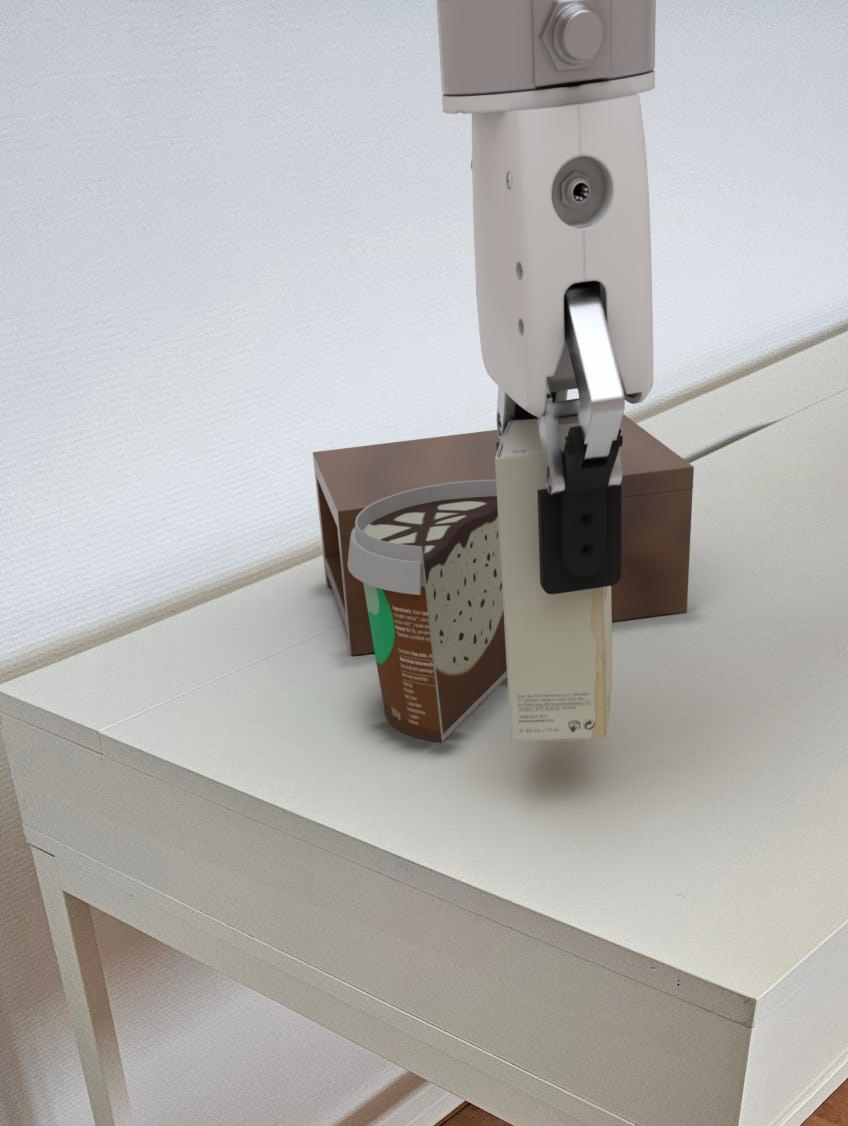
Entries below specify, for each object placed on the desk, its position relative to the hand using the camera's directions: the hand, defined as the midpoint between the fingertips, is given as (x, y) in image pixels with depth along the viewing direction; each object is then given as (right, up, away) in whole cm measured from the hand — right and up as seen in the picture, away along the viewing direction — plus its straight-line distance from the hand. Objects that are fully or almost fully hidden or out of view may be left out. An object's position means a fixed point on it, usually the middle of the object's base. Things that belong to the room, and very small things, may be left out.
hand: (557, 555), depth 60 cm
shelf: (0, +7, +28) cm, 29 cm away
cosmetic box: (+1, -6, +4) cm, 7 cm away
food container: (-5, -3, +15) cm, 16 cm away
